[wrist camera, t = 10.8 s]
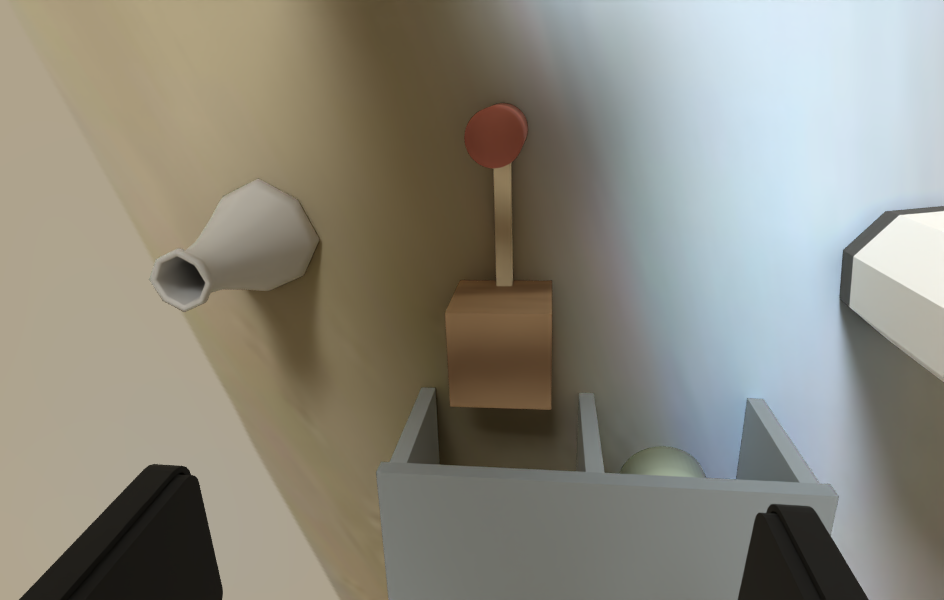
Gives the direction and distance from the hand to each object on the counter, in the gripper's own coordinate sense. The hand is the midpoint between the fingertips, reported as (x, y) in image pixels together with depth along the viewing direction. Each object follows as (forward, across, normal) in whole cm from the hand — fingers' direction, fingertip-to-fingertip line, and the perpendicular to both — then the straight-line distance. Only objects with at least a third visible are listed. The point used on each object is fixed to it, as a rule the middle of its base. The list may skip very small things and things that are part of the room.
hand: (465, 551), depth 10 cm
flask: (+30, +17, +3) cm, 34 cm away
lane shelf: (+28, -5, +20) cm, 35 cm away
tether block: (+29, +1, +3) cm, 29 cm away
